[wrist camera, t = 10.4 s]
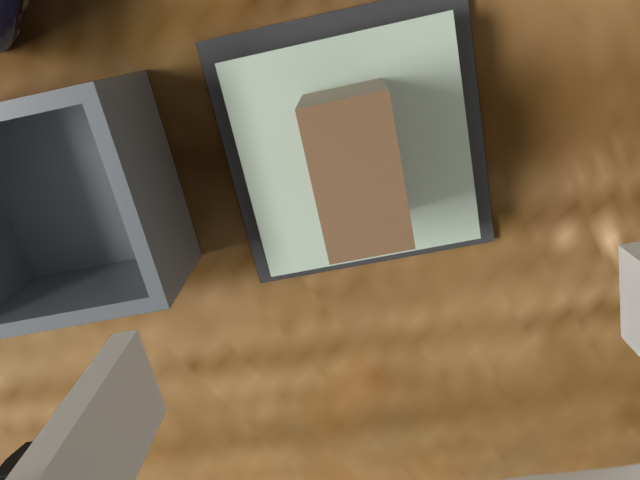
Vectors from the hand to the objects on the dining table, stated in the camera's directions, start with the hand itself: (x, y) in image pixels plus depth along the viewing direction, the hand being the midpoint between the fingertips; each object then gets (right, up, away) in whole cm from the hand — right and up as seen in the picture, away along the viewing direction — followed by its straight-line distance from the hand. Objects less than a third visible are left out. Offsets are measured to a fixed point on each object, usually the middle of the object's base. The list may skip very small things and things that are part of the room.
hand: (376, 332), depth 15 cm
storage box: (-19, +7, +27) cm, 33 cm away
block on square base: (+1, +9, +25) cm, 26 cm away
